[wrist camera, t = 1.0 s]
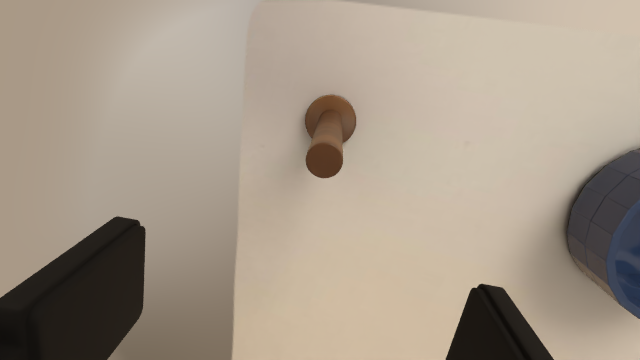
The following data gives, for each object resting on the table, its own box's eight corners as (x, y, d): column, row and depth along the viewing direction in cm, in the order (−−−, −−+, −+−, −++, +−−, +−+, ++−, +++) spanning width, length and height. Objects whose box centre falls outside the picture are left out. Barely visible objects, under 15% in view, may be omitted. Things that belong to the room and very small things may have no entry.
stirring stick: (305, 94, 33) (281, 119, 19) (356, 94, 32) (366, 119, 19) (306, 144, 34) (284, 198, 21) (355, 144, 34) (364, 199, 21)
